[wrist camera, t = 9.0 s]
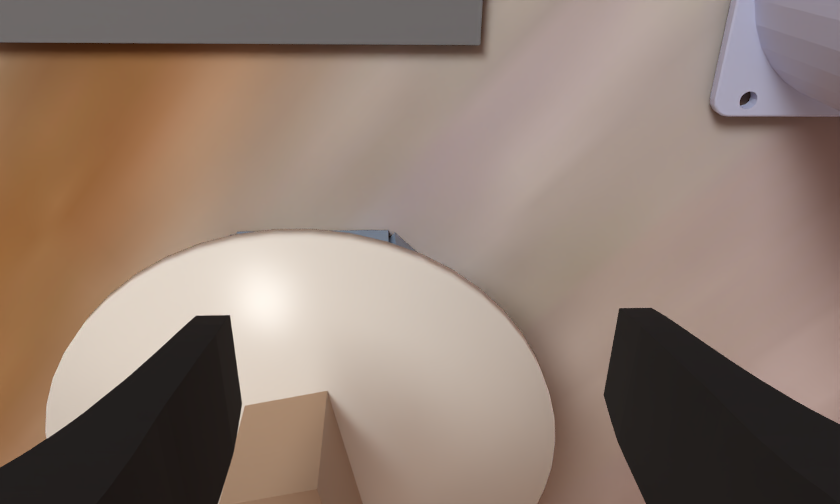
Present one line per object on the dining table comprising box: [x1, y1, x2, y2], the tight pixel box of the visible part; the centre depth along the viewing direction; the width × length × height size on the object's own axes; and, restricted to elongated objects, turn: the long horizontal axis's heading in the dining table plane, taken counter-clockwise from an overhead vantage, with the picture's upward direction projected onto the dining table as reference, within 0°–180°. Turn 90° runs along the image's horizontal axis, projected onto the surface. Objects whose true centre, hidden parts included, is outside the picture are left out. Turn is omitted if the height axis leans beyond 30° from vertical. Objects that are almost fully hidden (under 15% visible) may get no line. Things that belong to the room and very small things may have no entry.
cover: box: [45, 229, 555, 504], centre depth 19 cm, size 15×15×4 cm
